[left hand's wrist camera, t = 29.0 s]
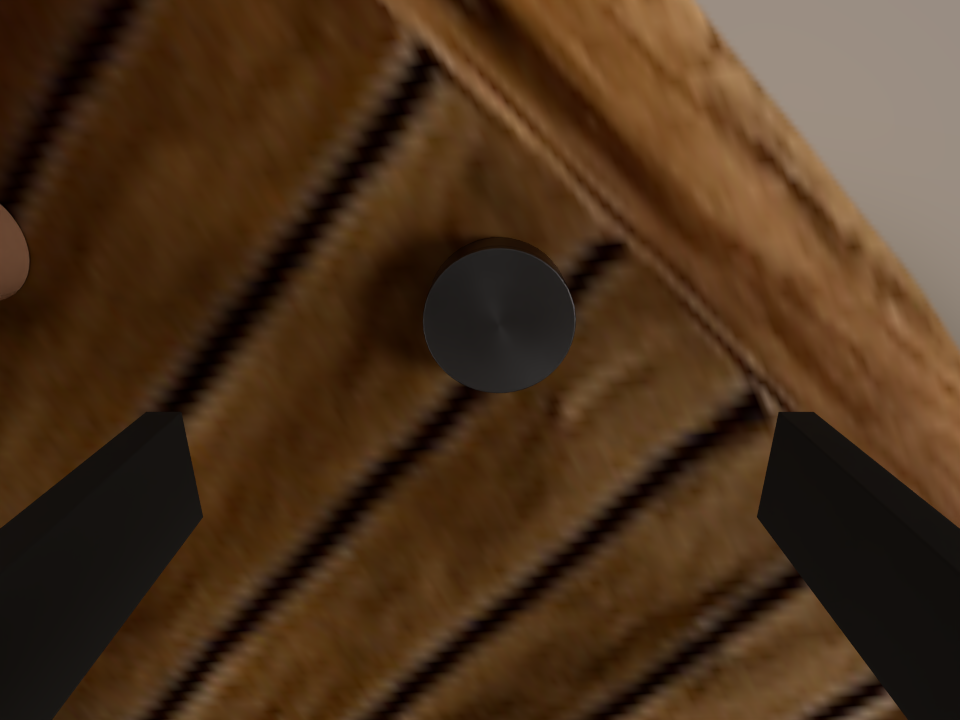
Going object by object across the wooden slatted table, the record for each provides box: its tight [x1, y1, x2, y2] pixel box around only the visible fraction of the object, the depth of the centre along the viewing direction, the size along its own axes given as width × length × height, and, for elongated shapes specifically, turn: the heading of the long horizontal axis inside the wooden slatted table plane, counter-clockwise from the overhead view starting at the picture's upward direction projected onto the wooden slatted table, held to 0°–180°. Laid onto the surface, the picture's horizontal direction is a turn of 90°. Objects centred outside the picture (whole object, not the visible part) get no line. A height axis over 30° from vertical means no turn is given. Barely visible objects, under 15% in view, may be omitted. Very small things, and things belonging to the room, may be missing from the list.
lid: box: [423, 237, 576, 393], centre depth 20 cm, size 5×5×2 cm
